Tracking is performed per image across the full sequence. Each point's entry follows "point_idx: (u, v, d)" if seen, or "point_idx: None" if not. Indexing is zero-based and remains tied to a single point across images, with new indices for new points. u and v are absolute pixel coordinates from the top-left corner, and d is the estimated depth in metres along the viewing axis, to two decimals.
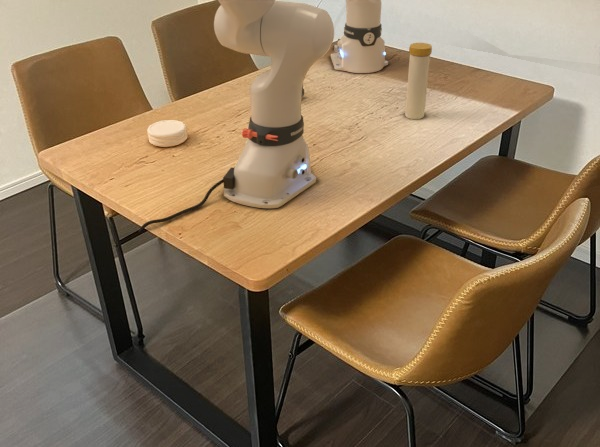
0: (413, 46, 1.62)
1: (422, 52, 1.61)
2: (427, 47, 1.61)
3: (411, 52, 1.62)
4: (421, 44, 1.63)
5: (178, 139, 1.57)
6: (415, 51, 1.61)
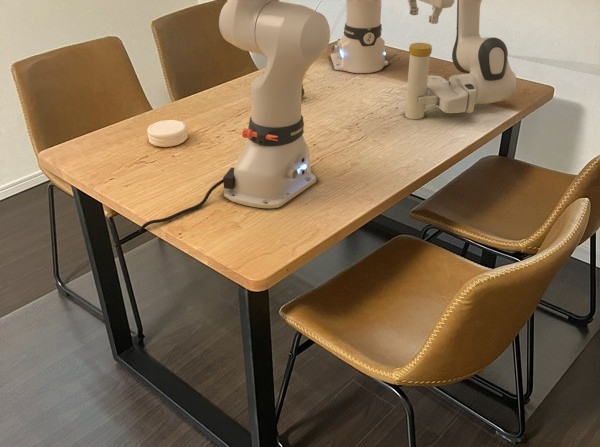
0: (413, 46, 1.62)
1: (422, 52, 1.61)
2: (427, 47, 1.61)
3: (411, 52, 1.62)
4: (421, 44, 1.63)
5: (178, 139, 1.57)
6: (415, 51, 1.61)
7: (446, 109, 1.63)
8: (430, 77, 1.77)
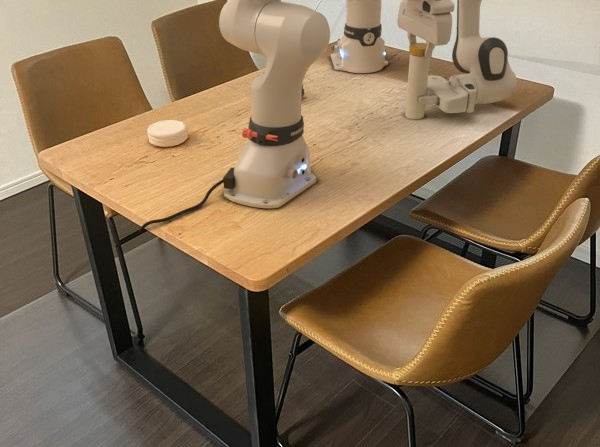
0: (413, 46, 1.62)
1: (422, 52, 1.61)
2: None
3: (411, 52, 1.62)
4: (421, 44, 1.63)
5: (178, 139, 1.57)
6: (415, 51, 1.61)
7: (446, 109, 1.63)
8: (430, 77, 1.77)
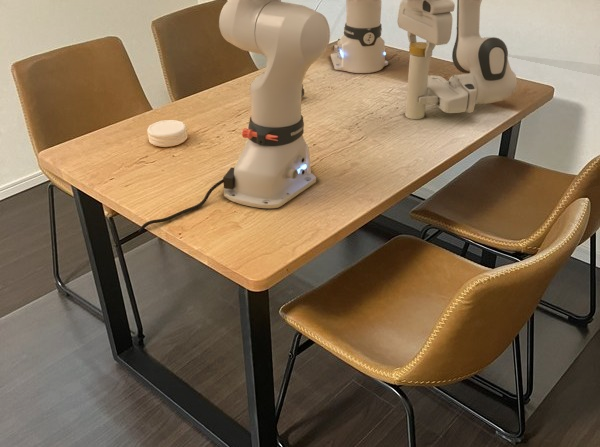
0: (419, 47, 1.61)
1: None
2: None
3: (420, 53, 1.61)
4: (417, 44, 1.63)
5: (178, 139, 1.57)
6: None
7: (446, 109, 1.63)
8: (430, 77, 1.77)
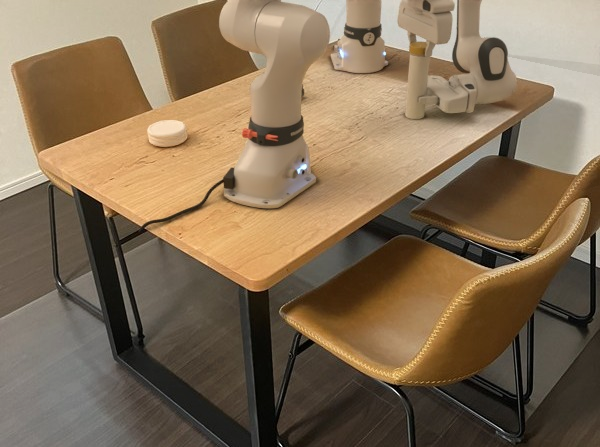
0: (426, 46, 1.61)
1: None
2: (424, 42, 1.64)
3: None
4: (416, 44, 1.62)
5: (178, 139, 1.57)
6: None
7: (446, 109, 1.63)
8: (430, 77, 1.77)
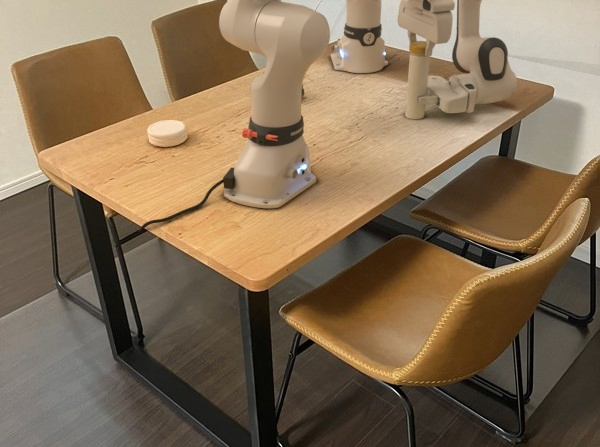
0: None
1: None
2: (416, 41, 1.64)
3: None
4: (418, 45, 1.61)
5: (178, 139, 1.57)
6: None
7: (446, 109, 1.63)
8: (430, 77, 1.77)
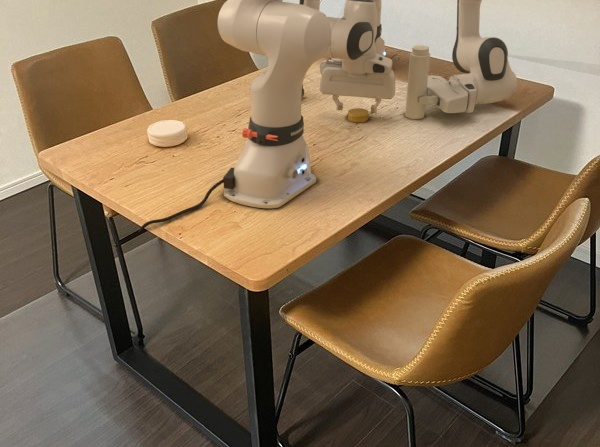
0: (363, 109, 1.72)
1: None
2: (350, 111, 1.71)
3: None
4: (359, 113, 1.70)
5: (178, 139, 1.57)
6: None
7: (446, 109, 1.63)
8: (430, 77, 1.77)
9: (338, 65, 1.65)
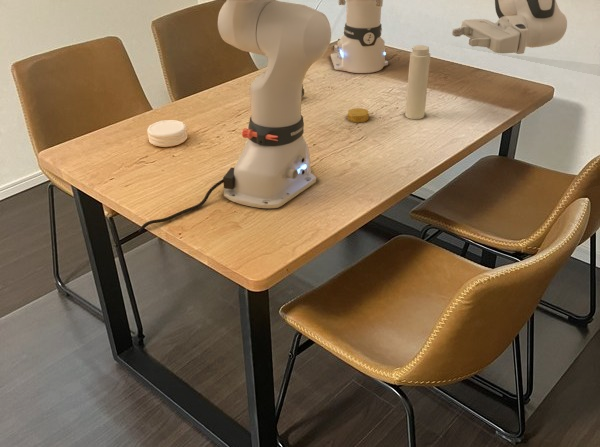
0: (363, 109, 1.72)
1: None
2: (350, 111, 1.71)
3: None
4: (359, 113, 1.70)
5: (178, 139, 1.57)
6: None
7: (497, 49, 1.58)
8: (477, 20, 1.71)
9: None
